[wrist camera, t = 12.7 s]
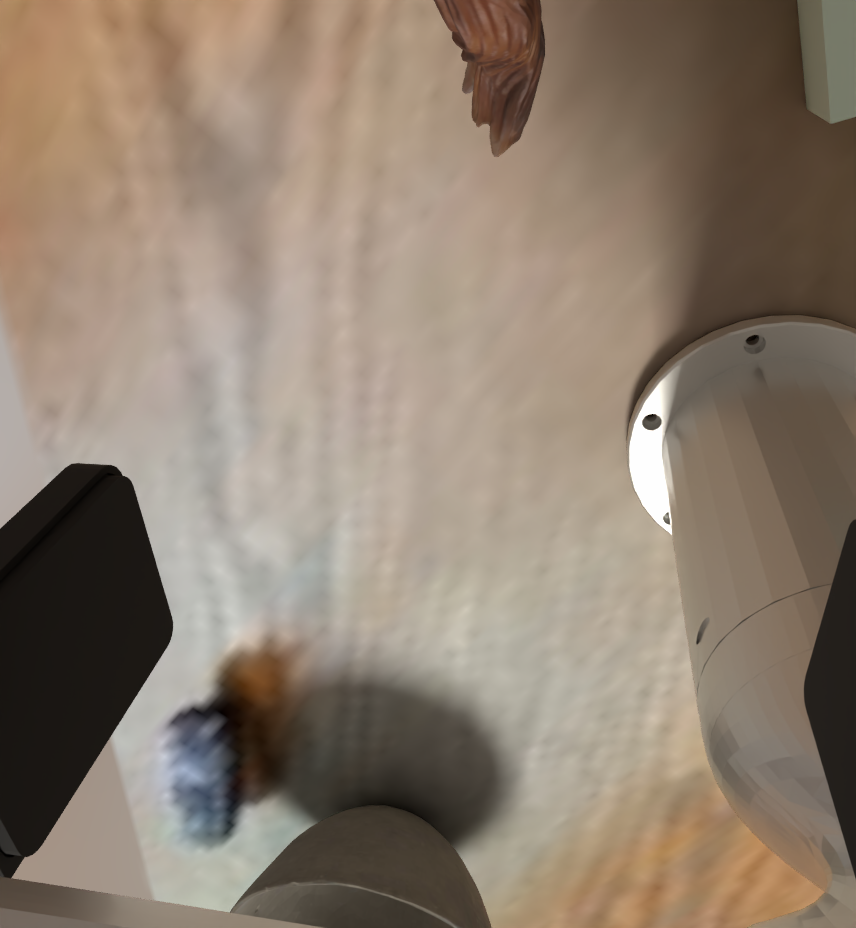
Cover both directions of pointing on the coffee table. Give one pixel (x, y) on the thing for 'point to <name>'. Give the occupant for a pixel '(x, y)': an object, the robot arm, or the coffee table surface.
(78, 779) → the robot arm
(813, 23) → the tray
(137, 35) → the coffee table surface
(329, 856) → the bowl
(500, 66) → the horse figurine
